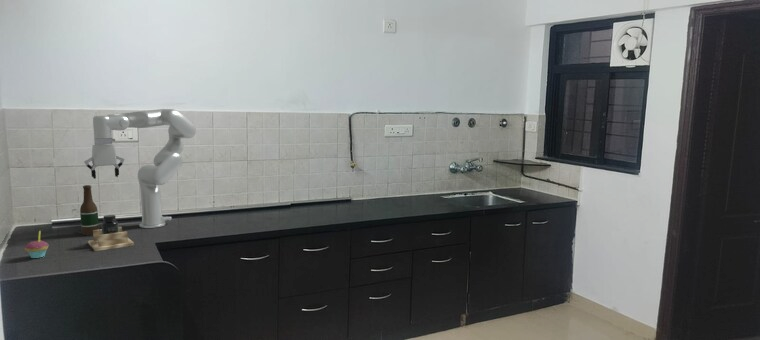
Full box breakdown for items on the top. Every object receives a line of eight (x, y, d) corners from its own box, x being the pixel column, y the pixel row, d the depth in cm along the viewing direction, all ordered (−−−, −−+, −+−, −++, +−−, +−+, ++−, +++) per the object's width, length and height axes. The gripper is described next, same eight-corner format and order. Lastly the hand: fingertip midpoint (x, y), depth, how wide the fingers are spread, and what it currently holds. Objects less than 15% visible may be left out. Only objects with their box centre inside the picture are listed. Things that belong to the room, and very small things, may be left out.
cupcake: (53, 254, 235) (51, 227, 234) (42, 260, 227) (39, 231, 225) (33, 254, 235) (30, 227, 234) (20, 260, 227) (18, 232, 225)
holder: (125, 238, 263) (125, 225, 262) (134, 245, 250) (133, 231, 249) (88, 243, 253) (87, 230, 252) (94, 251, 240) (93, 237, 240)
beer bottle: (79, 236, 266) (76, 187, 263) (83, 232, 273) (80, 184, 270) (97, 235, 268) (94, 186, 265) (101, 231, 275) (97, 184, 272)
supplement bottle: (122, 239, 255) (120, 214, 253) (114, 243, 248) (113, 217, 246) (107, 239, 255) (105, 214, 253) (99, 243, 248) (98, 217, 247)
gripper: (121, 140, 270) (123, 175, 273) (81, 142, 260) (84, 178, 262) (124, 141, 264) (126, 176, 267) (84, 143, 254) (86, 180, 256)
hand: (105, 177), depth 265 cm, fingers open, 9 cm apart
